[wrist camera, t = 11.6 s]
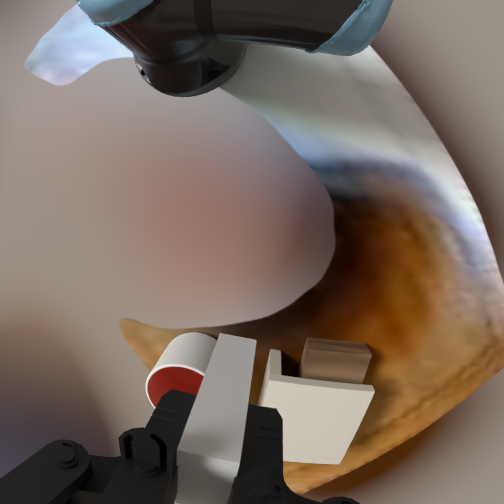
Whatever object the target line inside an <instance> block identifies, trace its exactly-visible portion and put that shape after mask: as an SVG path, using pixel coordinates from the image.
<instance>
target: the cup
mask: <svg viewBox="0 0 504 504" xmlns="http://www.w3.org/2000/svg"><path fill="white" fill-rule="evenodd" d="M216 343H217V340H216V339H215V338H213V337H211V336H209V335H206V334H202V333H195V332H192V333H185V334H182V335H180V336H178V337H176V338H175V339H173V340H172V341H171V342H170V344H169V345H168V346H167V348H166V350H165V351H164V353H163V354H162V356H161V357H160V359H159V360H158V362H157V363H156V365H155V367H154V368H153V370H152V371H151V373H150V374H149V376H148V378H147V381H146V393H147V397H148V399H149V401H150V402H151V404H152V406H153V407H154V408H156V407H157V404H158V402H159V401H160V399H161V397H162V396H163V395H164V394H166V393H167V392H168V391H170V390H171V389H175V390H179V391H183V392H187V393H191V394H196V395H197V394H198V391H199V389H200V386H201V383H202V380H203V378H204V375H205V372H206V370H207V367H208V364H209V362H210V359H211V356H212V353H213V351H214V348H215V345H216Z"/></svg>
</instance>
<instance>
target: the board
mask: <svg viewBox="0 0 504 504" xmlns="http://www.w3.org/2000/svg"><path fill="white" fill-rule="evenodd" d="M371 357H372V354H371V352H370V350H369V348H368V346H367V345H366V343H358V342H348V341H338V340H329V339H320V338H312V337H307V338H306V343H305V347H304V351H303V355H302V359H301V363H300V367H299V371H298V375H297V378H305V379H313V380H321V381H330V382H339V383H350V384H362V383H363V380H364V377H365V374H366V371H367V368H368V366H369V363H370V360H371Z"/></svg>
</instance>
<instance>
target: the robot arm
mask: <svg viewBox="0 0 504 504" xmlns="http://www.w3.org/2000/svg"><path fill="white" fill-rule="evenodd" d="M76 1H77V4H78V6H79V7H80V8H81V9H82V10H83V11H84V12H85V13H86V14H87V15H88V16H89V18H90V20H91V22H92V23H94V24H95V25H98V26H99V27H101V28H102V29H104V30H105V31H106V32H108V33H109V34H110V35H111V36H113V37H114V38H115V39H116V40H118V41H119V42H120V43H122V44H123V45H124V46H125V47H127V48H128V49H129V50H130V51H131V52H133V55H134V59H135V63H136V66H137V69H138V71H139V73H140V75H141V76H142V77H143V79H144V80H145V81H146V82H147V83H148V84H150V85H151V86H152V87H154V88H155V89H156V90H158V91H160V92H162V93H164V94H167V95H171V96H175V97H191V96H197V95H200V94H204V93H207V92H209V91H211V90H213V89H215V88H217V87H219V86H220V85H222V84H223V83H225V82H226V81H227V80H228V79H229V78H230V77H231V76H232V75H233V74H234V73H235V72H236V70H237V69H238V67H239V66H240V64H241V62H242V60H243V57H244V54H245V49H246V43H254V44H264V45H274V46H282V47H289V48H296V49H303V50H305V52H308V53H318V52H321V53H328V54H334V55H340V56H351V55H354V54H356V53H359V52H361V51H363V50H364V49H365V48H366V47H367V46H369V44H370V43H371V42H372V41H373V40H374V38H375V37H376V35H377V34H378V32H379V31H380V29H381V27H382V25H383V23H384V21H385V19H386V17H387V15H388V12H389V10H390V7H391V4H392V1H393V0H76ZM255 348H256V340H253V339H248V338H242V337H237V336H232V335H227V334H222V333H220V335H219V337H218V340H217V343H216V345H215V348H214V351H213V353H212V356H211V359H210V362H209V364H208V367H207V370H206V372H205V375H204V378H203V380H202V383H201V386H200V389H199V391H198V394H197V395H196V394H191V393H187V392H183V391H179V390H175V389H171V390H170V391H168V392H167V393H166V394H164V395H163V396H162V397H161V399H160V401H159V402H158V404H157V407H156V408H155V410H154V412H153V414H152V416H151V418H150V420H149V422H148V424H147V425H146V427H145V428H133V429H130V430H128V431H126V432H124V433H123V434H122V435H121V436H120V437H119V445H120V453H121V456H118V457H103V456H94V455H88V452H87V450H86V449H85V448H84V447H83V446H82V445H80V444H78V443H76V442H74V441H70V440H55V441H53V442H51V443H49V444H47V445H46V446H45V447H43V448H42V449H41V450H39V451H38V452H37V453H35V454H34V455H32V456H31V457H30V458H28V459H27V460H25V461H24V462H23V463H22V464H20V465H19V466H17V467H16V468H14V469H13V470H12V471H10V472H9V473H8V474H6V475H5V476H3V477H2V478H0V504H174V502H175V499H176V503H180V504H360V503H358V502H356V501H355V500H353V499H350V498H346V497H331V498H329V499H326V500H324V501H323V502H322V503H321V502H317V501H314V500H310V499H307V498H304V497H302V496H299V495H297V494H296V493H294V492H293V491H291V490H290V488H289V487H288V486H287V485H286V483H285V481H284V477H283V419H282V417H281V415H280V414H279V412H278V410H277V408H270V407H263V406H257V405H251V404H248V401H249V394H250V386H251V379H252V371H253V363H254V356H255Z"/></svg>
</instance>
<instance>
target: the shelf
mask: <svg viewBox="0 0 504 504" xmlns="http://www.w3.org/2000/svg"><path fill="white" fill-rule="evenodd" d="M374 393H375V390H374V388H373V386H372V385H362V384H350V383H339V382H330V381H321V380H313V379H305V378H297V377H290V376H283V375H281V351H279V350H273V349H270V354H269V358H268V362H267V367H266V371H265V375H264V379H263V384H262V388H261V392H260V396H259V400H258V404H257V406H263V407H270V408H277V410H278V412H279V414H280V415H281V417H282V419H283V461H292V462H304V463H320V464H340V462H341V460H342V459H343V457H344V455H345V453H346V451H347V449H348V447H349V445H350V443H351V441H352V440H353V438H354V436H355V434H356V432H357V430H358V427H359V425H360V423H361V421H362V419H363V417H364V415H365V413H366V411H367V408H368V406H369V404H370V402H371V400H372V397H373V395H374Z"/></svg>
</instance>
